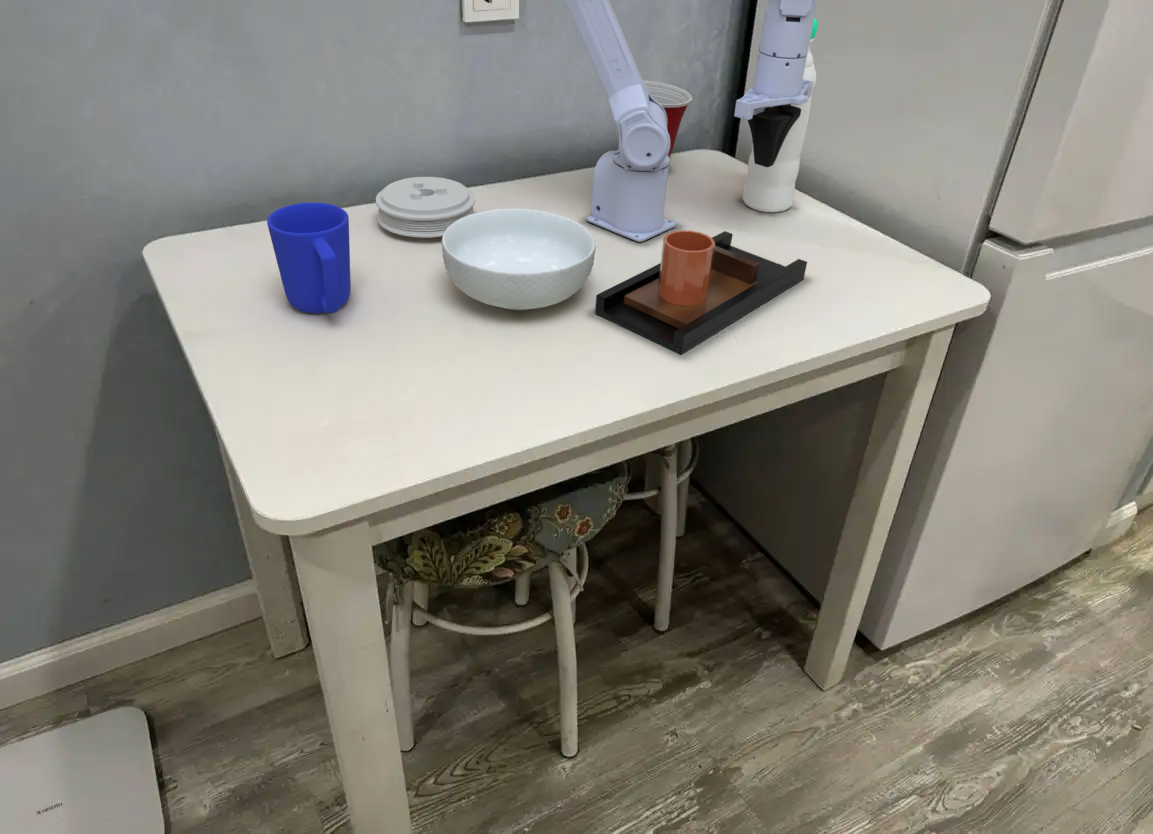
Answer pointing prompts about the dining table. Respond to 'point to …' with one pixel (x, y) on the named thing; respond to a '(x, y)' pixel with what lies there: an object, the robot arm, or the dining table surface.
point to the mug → (312, 255)
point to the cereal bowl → (518, 257)
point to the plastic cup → (670, 105)
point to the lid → (423, 206)
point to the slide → (725, 283)
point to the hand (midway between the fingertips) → (763, 164)
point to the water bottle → (781, 159)
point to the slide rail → (683, 339)
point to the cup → (685, 267)
